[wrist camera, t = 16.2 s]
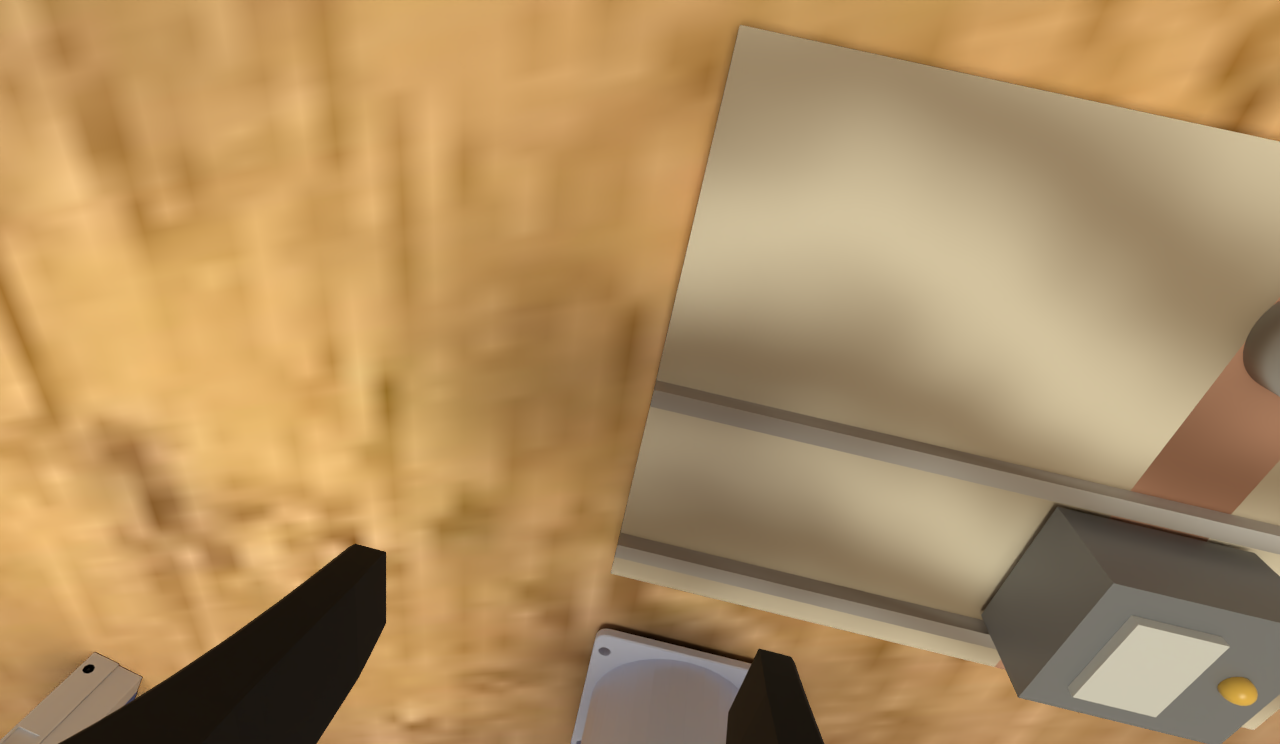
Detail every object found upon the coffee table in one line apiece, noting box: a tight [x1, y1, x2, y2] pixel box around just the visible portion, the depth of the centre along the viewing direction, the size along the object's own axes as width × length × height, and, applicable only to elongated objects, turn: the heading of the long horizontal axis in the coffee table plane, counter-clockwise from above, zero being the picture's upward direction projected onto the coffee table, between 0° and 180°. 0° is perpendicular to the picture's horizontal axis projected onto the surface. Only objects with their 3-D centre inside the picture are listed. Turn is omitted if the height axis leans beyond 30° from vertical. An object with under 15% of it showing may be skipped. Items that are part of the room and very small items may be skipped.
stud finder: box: [981, 507, 1280, 744], centre depth 18 cm, size 5×6×4 cm
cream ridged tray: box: [611, 25, 1280, 730], centre depth 18 cm, size 18×24×2 cm
